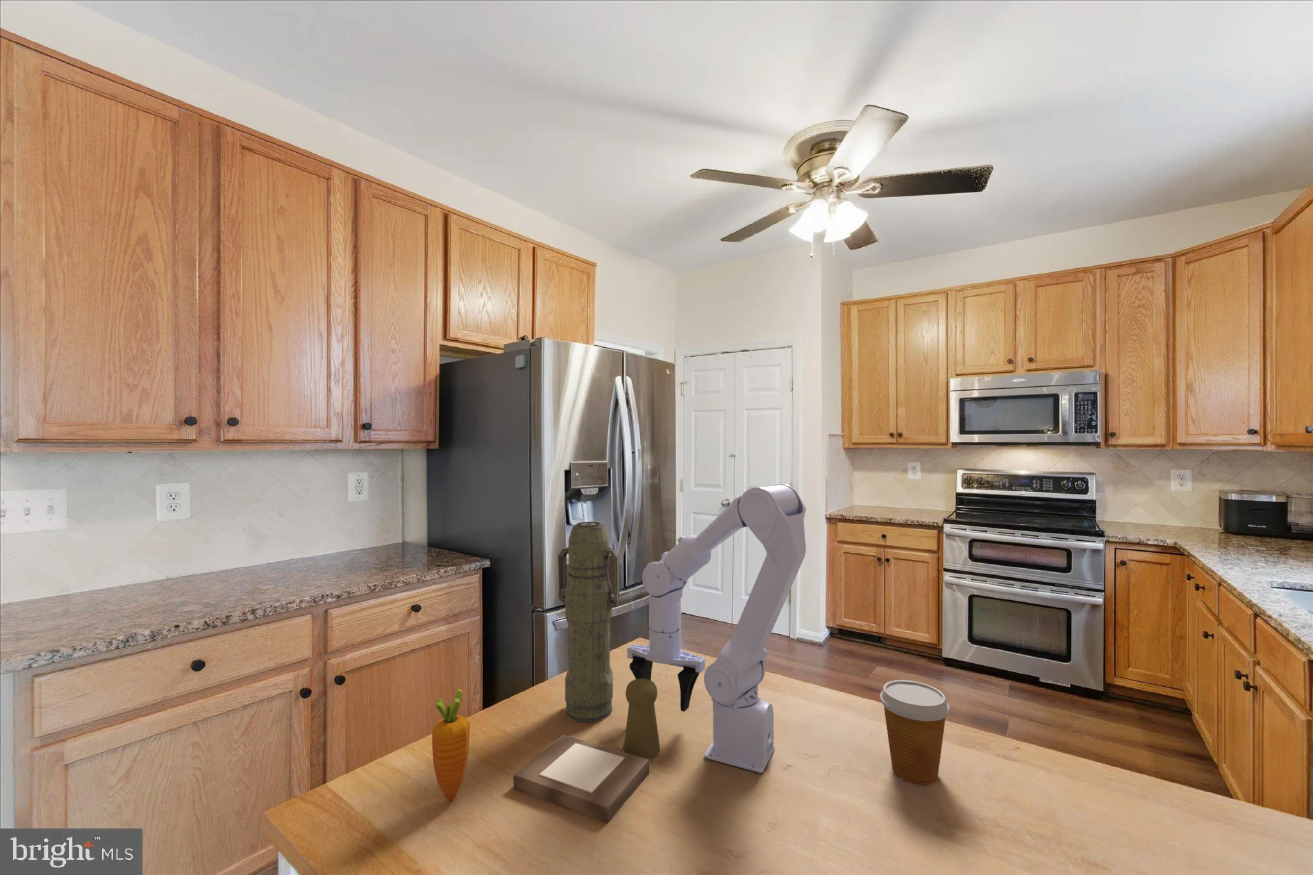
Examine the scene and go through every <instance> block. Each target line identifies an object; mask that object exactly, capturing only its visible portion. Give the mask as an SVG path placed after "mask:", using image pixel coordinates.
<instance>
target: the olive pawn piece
mask: <svg viewBox="0 0 1313 875" xmlns="http://www.w3.org/2000/svg"><path fill="white" fill-rule="evenodd" d="M657 697H658V688H657V685H656V684H655V682H654V681H653V680H652V679H651V680H648V679H633V680H631V681H630V682H629V683H628V684H627V686H626V688H625V698H626V701H627V703H628V711H627V718H626V727H625V734H624V742H623V751H622V752H625V753H628V754H632V755H635V756H639V757H642V758H646V759H649V760H651V759H654V758H656V757H657V756H658V755H659V754H660V752H661V747H660V746H661V745H660V739H659V737H660V736H659V730H658V722H657V716H656V715H657V714H656V707H655V702H656V700H657Z"/></svg>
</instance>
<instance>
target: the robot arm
mask: <svg viewBox="0 0 1313 875" xmlns="http://www.w3.org/2000/svg"><path fill="white" fill-rule="evenodd" d="M806 511H807V508H806V506H805V504H804V501H803V500H802V498H801V496H800V495H799V493H798V491H797V490H796V489H795V488H794V487H792V486H791V485H789V484H786V483H777V484H774V485H770V486H762V487H761V486H755V487H751V488H748V489H747V490H746V491H744V492H743V494H742V495H741V496H738V497H736V498H735V499H733V500H732V502H731V503H730V504H729V505H728V506H727V507H726V508H725V509H724V510H723V511H722V512H721V513H720V514H719V515H718V516H716V518H714V520H712V522H710V523H709V524H708V525H707V527H705V528H704V529H703V531H701V532H700V533H699V534H698V535H695V534H688V535H682V536H680V537H679V538H677V540H676V541H677V544H676V545H675V546H674V547H673V548H671V550H668V551H665V552H663V553H661V559H660V560H659V561H651V562H649V563H647V565H646V566H645V567H644V568H643V571H642V575H641V576H642V577H641V580H642V585H643V587H644V589H645V591H646V592H647V593H648V639H649V640H648V644H649V645H647V644H645V645H644V644H643V645H642V644H634V643H632V644H631V645H629V646H628V647H627V648H626V649H627V650H626V656H627V657H626V658H627V659H631V662H630V663H629V669H630V671H631V673H632V675H633V676H634V678H635V679H634V680H636V679H648V680H651V681H652V671H653V663H656V664H664V665H668V666H673V667H679V668H683V669H682V670H681V671H679V672H678V673H677V679H678V685H679V692H680V697H679V698H680V700H679V701H680V703H679V705H680V706H679V707H680V712H683V713H685V712H686V711H687V710H688V709H689V708H690V702H691V697H692V693H693V690H694V687H695V684H696V682H697V680H698V677H699V675H700V674H701V673H702V672H703V671H705V672H704V676H703V682H704V686H705V690H706V692H707V693H708V695H709V696H710V698H711V701H712V742H711V744H710V745H709V746H708V748H707V749H706V751H705V752H704V756H703V757H704V758H705V759H708V760H711V761H716V762H718V763H719V762H720V763H723V764H726V765H729V766H734V767H738V768H740V769H741V768H742V769H745V770H748V771H752V772H756V773H759V774H762V773H764V771H765V768H766V767H767V765H768V763H769V761H770V759H771V757H772V754H773V752H774V751H775V749H776V748H775V746H776V745H775V742H774V738H775V736H774V733H775V731H774V729H775V728H774V720H775V719H774V707H773V706H774V705H773V704H772V703H771V702H768V701H766V700H763V699H762V698H761V697H759V694H758V693H759V684H760V683H761V682H762V681H763V680H764V678H765V674H766V666H765V664H766V659H767V657H768V654H769V653H768V651H767V650H766V648H765V647H766V645H767V643H768V640H769V638H770V637H771V634H772V632H773V630H774V627H775V624H776V623H777V621H778V618H779V616H780V614H781V611H782V609H783V607H784V604H785V602H786V600H787V597H788V595H789V593H790V592H791V589H792V587H793V584H794V582H795V579H796V577H797V576H798V573H799V571H800V569H801V566H802V564H803V562H804V559H805V557H806V553H807V546H806V535H805V534H806V533H805V532H806V531H805V521H804V520H805V516H806ZM743 528H748V529H749V530H750V531H751V532H752V534H753V535H754V536H755V537H756V539H757V540H758V541H759V542H760V543H761V544H762V546H763V548H764V549H765V551H766V556H765V557H764V561H763V563H762V565H761V567H760V569H759V571H758V575H757V577H756V579H755V582H754V584H753V587H752V589H751V591H750V594H749V595H748V599H747V600H746V603H745V606H744V607H743V610H742V612H741V615H740V617H739V620H738V622H737V624H736V627H735V629H734V631H733V634H732V636H731V638H730V639H729V641H728V642H727V643H726V644H725V645H724V647H722V649H721V650H720V652H719V653H718V654H717V657H716V659H715V661H713V663H711V664H709V665H708V666H707V668H706V658H705V657H704V656H700V655H699V656H698V655H696V654H693V653H690V652H688V651H686V650H684V649H683V650H682V615H681V614H682V597H683V591H684V588H685V587H686V585H687V583H688V581H689V579H690V578H691V577H692V576H694V575H695V574H696V573H698V572H699V571H700V570H701V569H703V567H705V566H706V565H707V564H709V563H710V561H711V559H712V551H713V550H714V549H715V548H716V547H718V546H719V545H721V543H724V542H725V541H726V540H727V539H729V538H730V537H731V536H733V535H735V533H737V532H738V531H740V530H741V529H743Z"/></svg>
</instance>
